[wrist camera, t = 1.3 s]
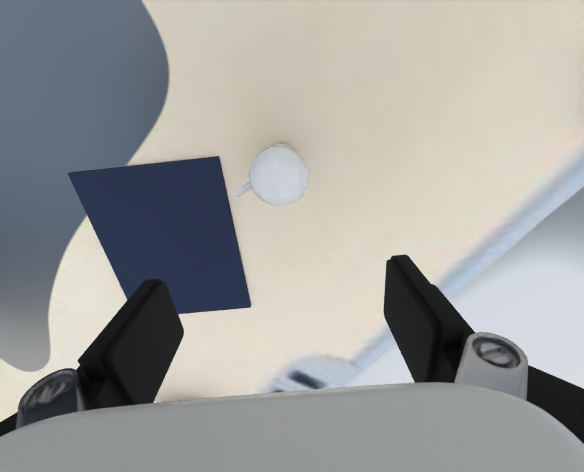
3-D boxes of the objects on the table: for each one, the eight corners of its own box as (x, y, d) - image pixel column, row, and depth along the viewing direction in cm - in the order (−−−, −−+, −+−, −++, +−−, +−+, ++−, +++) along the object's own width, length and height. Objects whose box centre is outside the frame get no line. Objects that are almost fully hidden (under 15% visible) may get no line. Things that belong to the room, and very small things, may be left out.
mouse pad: (70, 172, 28) (67, 173, 28) (218, 156, 28) (218, 157, 27) (137, 315, 37) (135, 317, 37) (251, 305, 36) (250, 307, 36)
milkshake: (246, 144, 27) (226, 162, 18) (297, 131, 27) (302, 144, 18) (258, 186, 29) (245, 222, 20) (306, 175, 29) (315, 207, 20)
